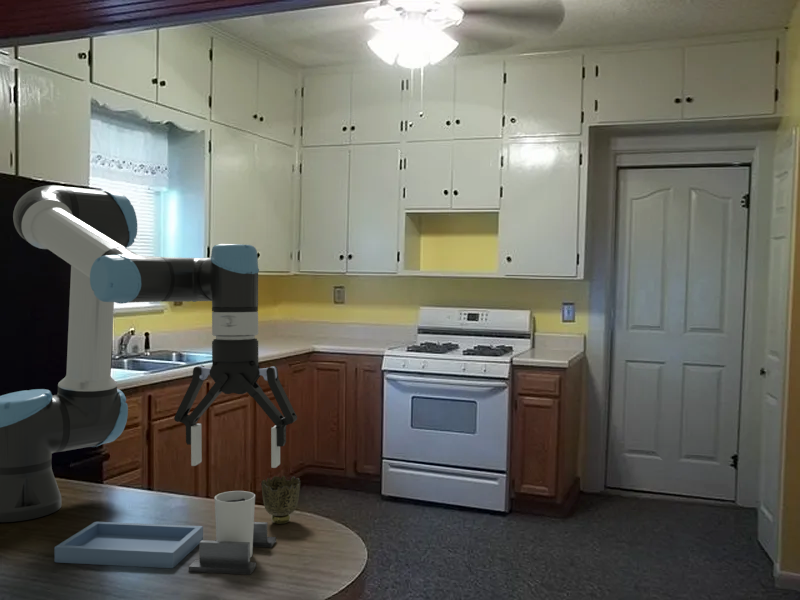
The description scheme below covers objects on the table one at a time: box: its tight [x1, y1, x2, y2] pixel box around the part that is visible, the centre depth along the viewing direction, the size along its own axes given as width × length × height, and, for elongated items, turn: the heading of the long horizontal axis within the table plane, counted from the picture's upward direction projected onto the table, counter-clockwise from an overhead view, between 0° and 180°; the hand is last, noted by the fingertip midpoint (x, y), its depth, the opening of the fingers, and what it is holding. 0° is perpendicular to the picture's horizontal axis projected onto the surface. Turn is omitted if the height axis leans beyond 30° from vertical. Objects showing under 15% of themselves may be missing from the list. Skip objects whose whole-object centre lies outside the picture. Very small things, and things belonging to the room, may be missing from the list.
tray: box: [54, 521, 204, 569], centre depth 127 cm, size 13×20×2 cm, turn 84°
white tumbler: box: [213, 490, 256, 558], centre depth 125 cm, size 7×7×10 cm
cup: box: [260, 475, 301, 525], centre depth 142 cm, size 8×7×8 cm
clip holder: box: [188, 521, 277, 576], centre depth 125 cm, size 15×10×4 cm, turn 174°
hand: (235, 465), depth 124 cm, fingers open, 13 cm apart
